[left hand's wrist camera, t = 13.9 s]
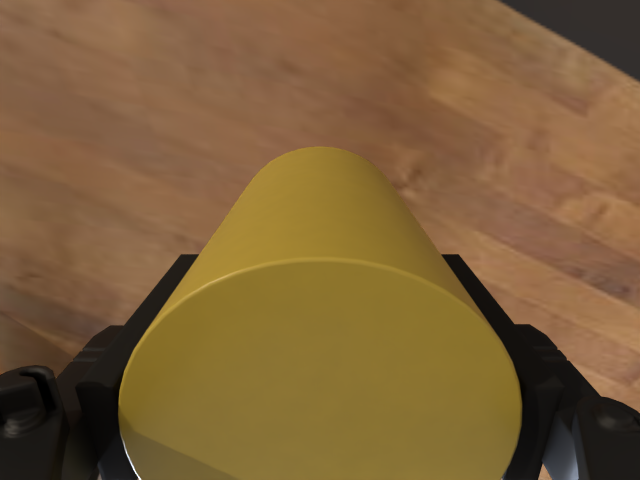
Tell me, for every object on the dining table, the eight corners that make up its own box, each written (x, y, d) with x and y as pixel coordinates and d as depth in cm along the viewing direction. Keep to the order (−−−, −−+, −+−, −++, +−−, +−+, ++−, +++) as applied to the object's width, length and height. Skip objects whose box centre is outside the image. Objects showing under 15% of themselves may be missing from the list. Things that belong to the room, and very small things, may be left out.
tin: (214, 168, 18) (40, 310, 7) (389, 127, 18) (514, 211, 6) (262, 316, 21) (196, 585, 10) (414, 286, 21) (530, 538, 9)
